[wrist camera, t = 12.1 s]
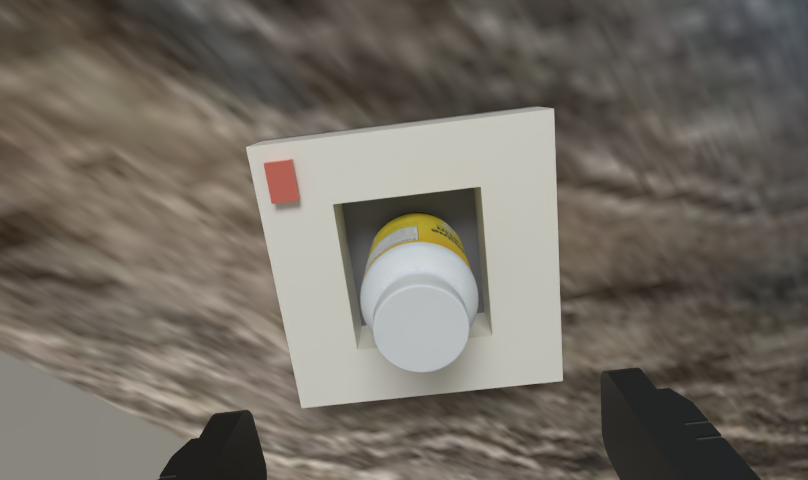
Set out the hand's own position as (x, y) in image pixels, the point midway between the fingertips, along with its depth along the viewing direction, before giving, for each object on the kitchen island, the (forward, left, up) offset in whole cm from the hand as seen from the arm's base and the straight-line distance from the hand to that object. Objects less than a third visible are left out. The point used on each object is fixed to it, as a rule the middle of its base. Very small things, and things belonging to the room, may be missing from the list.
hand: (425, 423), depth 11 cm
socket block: (0, +4, -24) cm, 25 cm away
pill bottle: (0, +4, -23) cm, 24 cm away
